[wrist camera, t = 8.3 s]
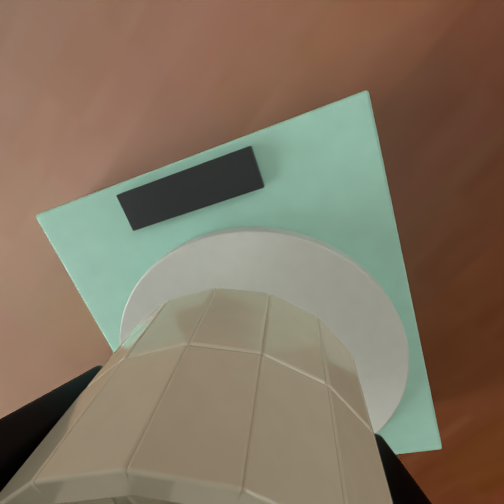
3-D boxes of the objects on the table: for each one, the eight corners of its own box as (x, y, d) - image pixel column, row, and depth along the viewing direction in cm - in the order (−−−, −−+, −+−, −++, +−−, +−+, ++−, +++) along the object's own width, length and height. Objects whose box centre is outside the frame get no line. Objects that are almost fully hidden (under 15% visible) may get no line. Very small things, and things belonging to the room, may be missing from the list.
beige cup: (379, 447, 9) (462, 747, 5) (183, 471, 11) (104, 719, 6) (322, 249, 7) (372, 438, 3) (92, 311, 9) (-120, 502, 4)
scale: (422, 407, 14) (450, 465, 11) (197, 439, 16) (181, 493, 14) (354, 97, 10) (374, 85, 7) (73, 203, 12) (18, 220, 10)
